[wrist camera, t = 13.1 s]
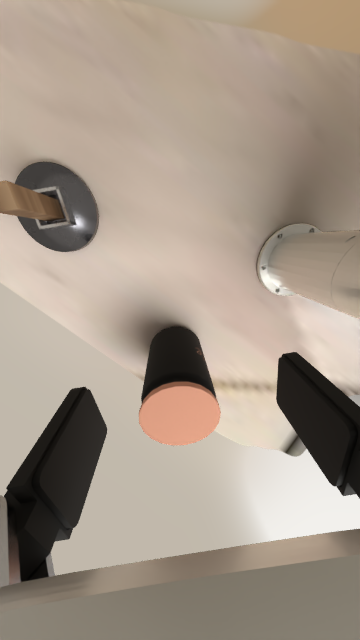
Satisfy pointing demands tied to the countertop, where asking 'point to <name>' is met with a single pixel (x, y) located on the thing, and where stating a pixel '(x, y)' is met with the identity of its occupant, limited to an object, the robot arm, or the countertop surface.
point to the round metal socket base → (73, 203)
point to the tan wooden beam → (28, 203)
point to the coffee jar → (177, 390)
